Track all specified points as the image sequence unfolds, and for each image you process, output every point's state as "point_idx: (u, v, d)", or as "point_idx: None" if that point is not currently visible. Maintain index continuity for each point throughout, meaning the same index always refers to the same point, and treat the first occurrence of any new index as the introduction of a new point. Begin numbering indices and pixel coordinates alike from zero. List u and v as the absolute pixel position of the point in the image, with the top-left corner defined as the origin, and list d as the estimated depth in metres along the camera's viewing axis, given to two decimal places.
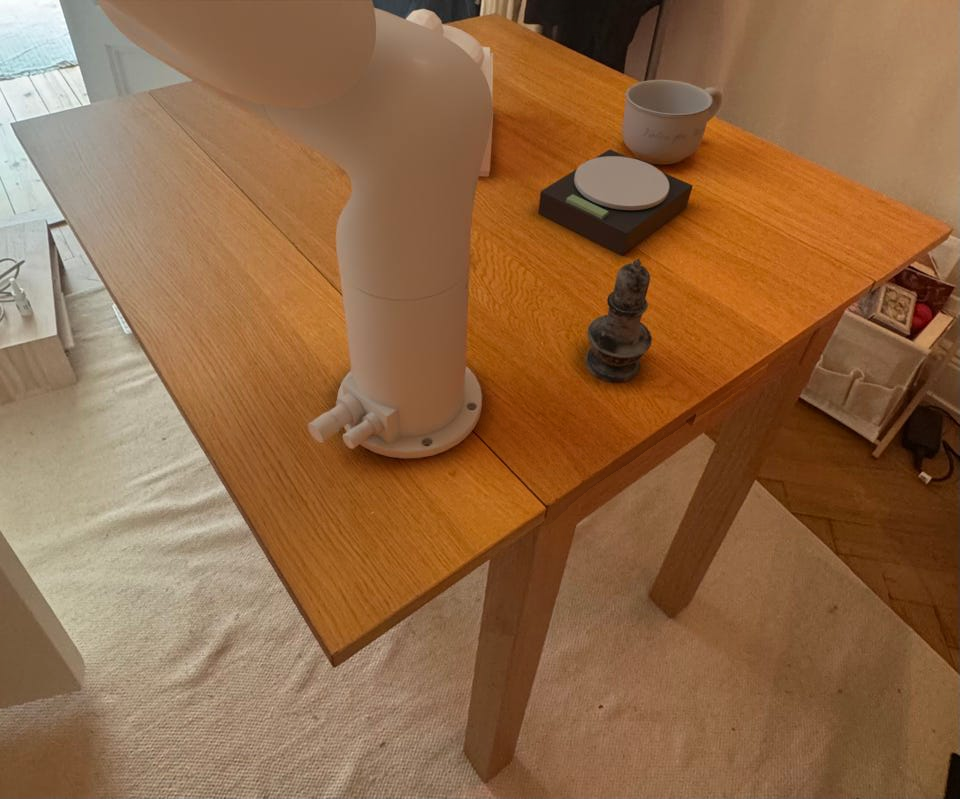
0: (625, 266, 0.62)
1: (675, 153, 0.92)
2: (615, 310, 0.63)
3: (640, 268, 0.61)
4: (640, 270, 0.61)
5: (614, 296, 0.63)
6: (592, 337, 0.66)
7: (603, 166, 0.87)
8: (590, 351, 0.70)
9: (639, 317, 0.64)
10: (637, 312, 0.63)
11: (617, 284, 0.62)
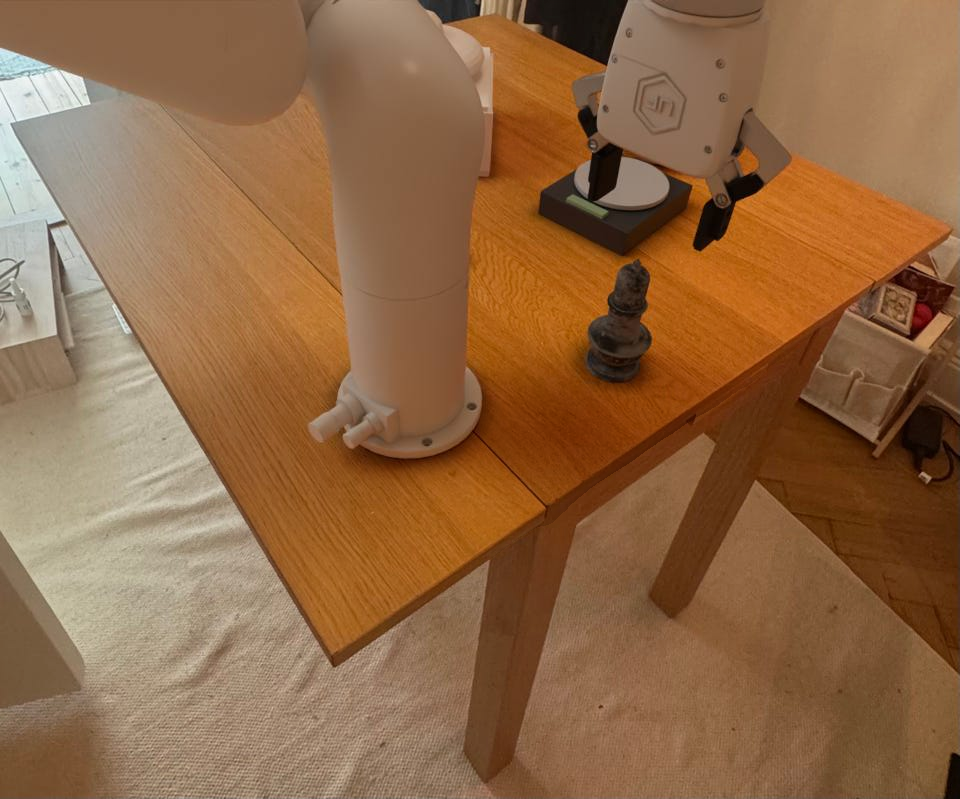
0: (625, 266, 0.62)
1: None
2: (615, 310, 0.63)
3: (640, 268, 0.61)
4: (640, 270, 0.61)
5: (614, 296, 0.63)
6: (592, 337, 0.66)
7: None
8: (590, 351, 0.70)
9: (639, 318, 0.64)
10: (637, 312, 0.63)
11: (617, 284, 0.62)
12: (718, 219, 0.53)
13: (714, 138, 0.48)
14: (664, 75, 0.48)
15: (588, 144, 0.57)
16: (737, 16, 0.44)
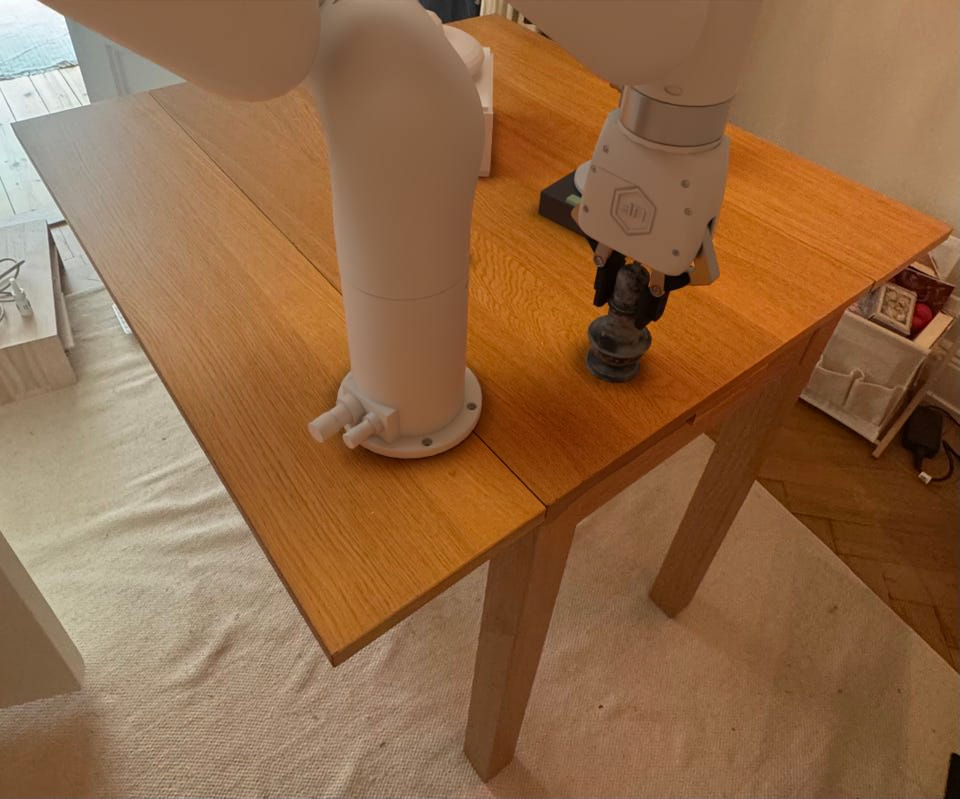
0: (625, 266, 0.62)
1: None
2: (615, 310, 0.63)
3: (640, 268, 0.61)
4: (640, 270, 0.61)
5: (614, 296, 0.63)
6: (592, 337, 0.66)
7: None
8: (590, 351, 0.70)
9: None
10: None
11: (617, 284, 0.62)
12: (654, 304, 0.61)
13: (681, 244, 0.54)
14: (637, 187, 0.54)
15: (595, 262, 0.62)
16: (699, 145, 0.50)
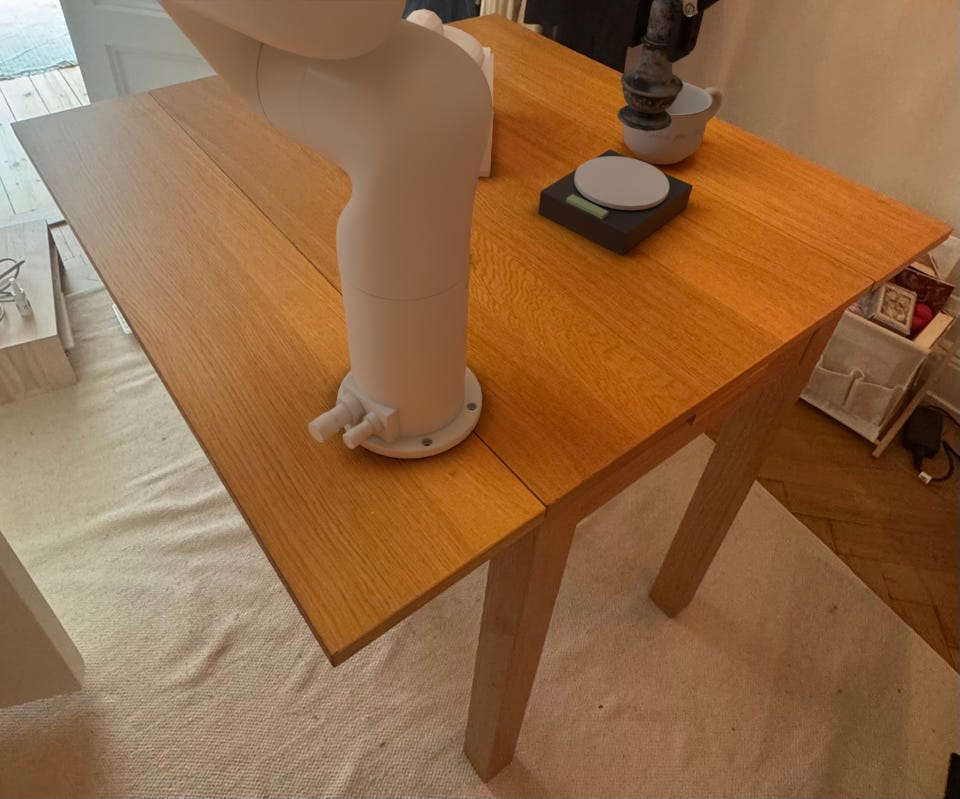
0: None
1: (675, 153, 0.92)
2: (649, 44, 0.65)
3: None
4: None
5: (648, 30, 0.65)
6: (626, 81, 0.69)
7: (603, 166, 0.87)
8: (622, 108, 0.72)
9: None
10: None
11: (651, 15, 0.64)
12: (687, 30, 0.63)
13: None
14: None
15: None
16: None
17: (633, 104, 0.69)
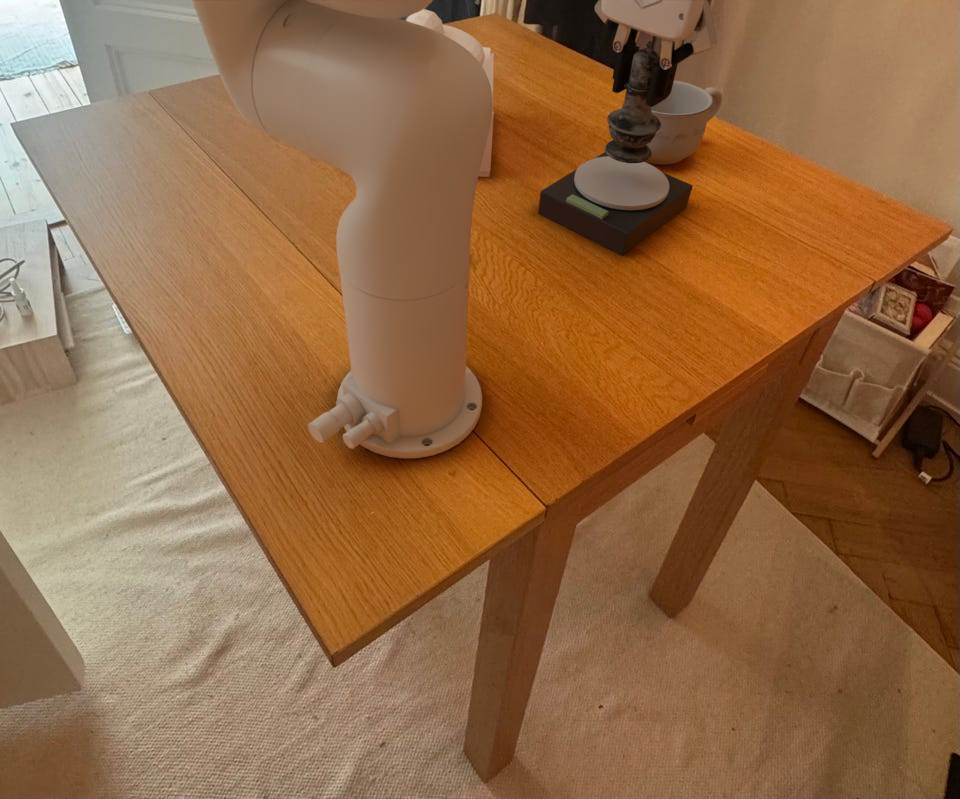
0: (639, 50, 0.75)
1: (675, 153, 0.92)
2: (631, 90, 0.76)
3: (652, 50, 0.74)
4: (652, 51, 0.74)
5: (630, 78, 0.76)
6: (611, 121, 0.79)
7: (603, 166, 0.87)
8: (609, 143, 0.83)
9: None
10: None
11: (632, 66, 0.75)
12: (663, 80, 0.74)
13: (686, 7, 0.67)
14: None
15: (615, 49, 0.75)
16: None
17: (618, 140, 0.80)
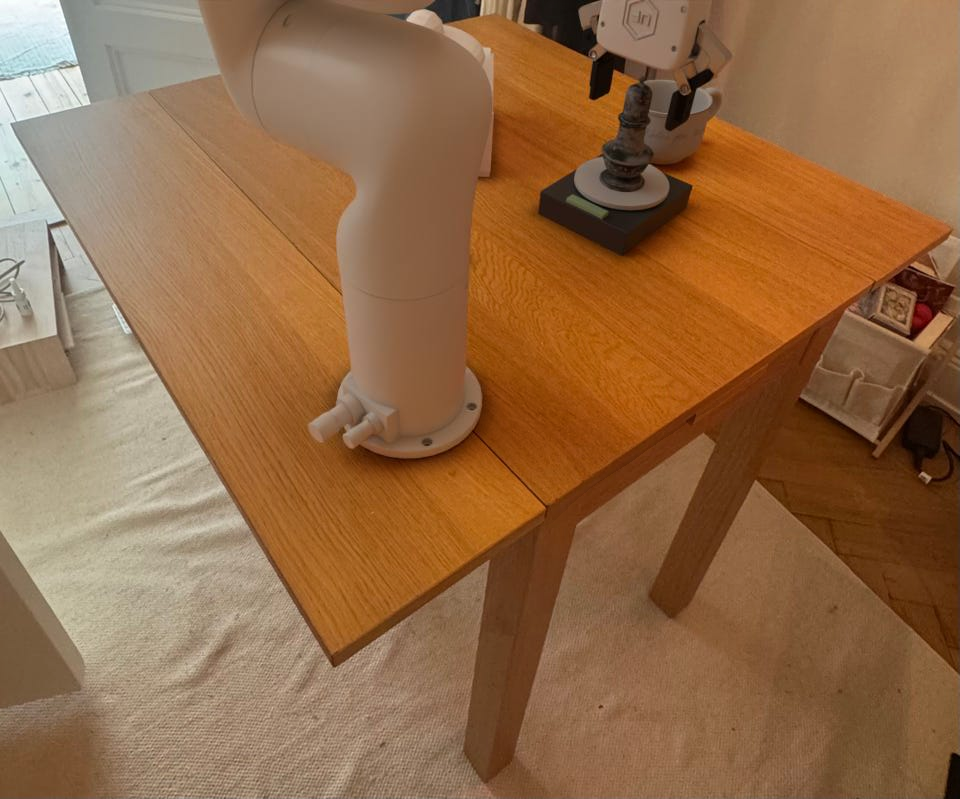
0: None
1: (675, 153, 0.92)
2: (624, 123, 0.79)
3: (645, 85, 0.77)
4: (644, 86, 0.77)
5: (623, 111, 0.79)
6: (606, 151, 0.82)
7: (603, 166, 0.87)
8: (603, 171, 0.86)
9: (643, 131, 0.80)
10: (642, 124, 0.79)
11: (626, 100, 0.78)
12: (682, 105, 0.74)
13: (678, 40, 0.69)
14: None
15: (590, 55, 0.78)
16: None
17: (612, 170, 0.82)
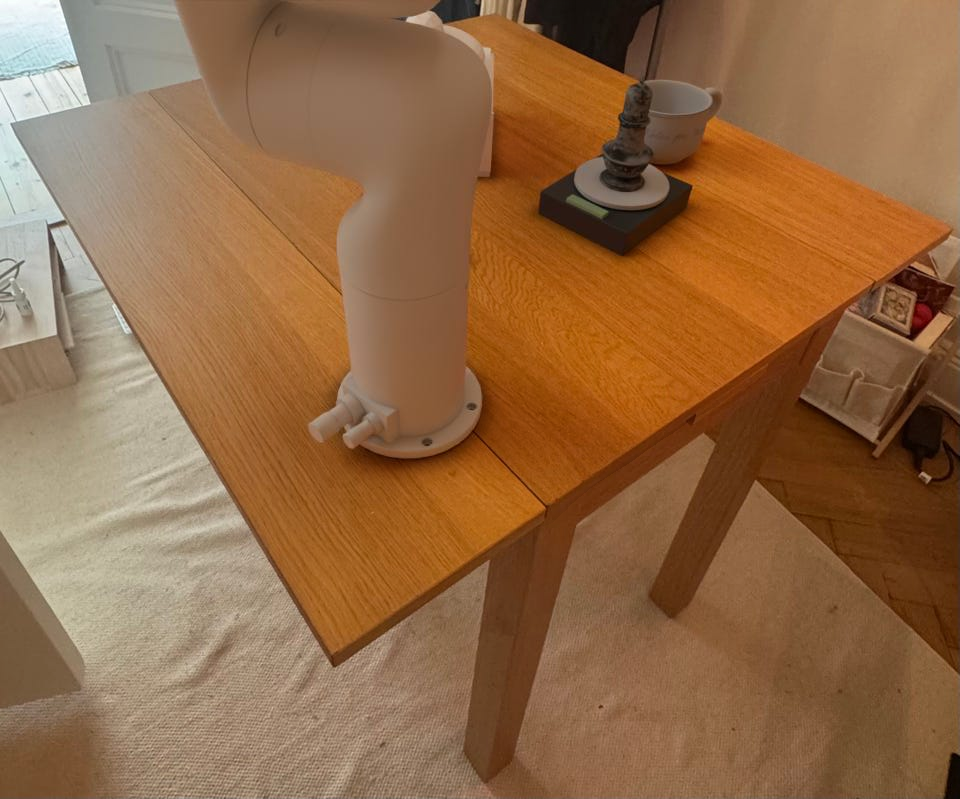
0: None
1: (675, 153, 0.92)
2: (624, 123, 0.79)
3: (645, 85, 0.77)
4: (644, 86, 0.77)
5: (623, 111, 0.79)
6: (606, 151, 0.82)
7: (603, 166, 0.87)
8: (603, 171, 0.86)
9: (643, 131, 0.80)
10: (642, 124, 0.79)
11: (626, 100, 0.78)
12: None
13: None
14: None
15: None
16: None
17: (612, 170, 0.82)
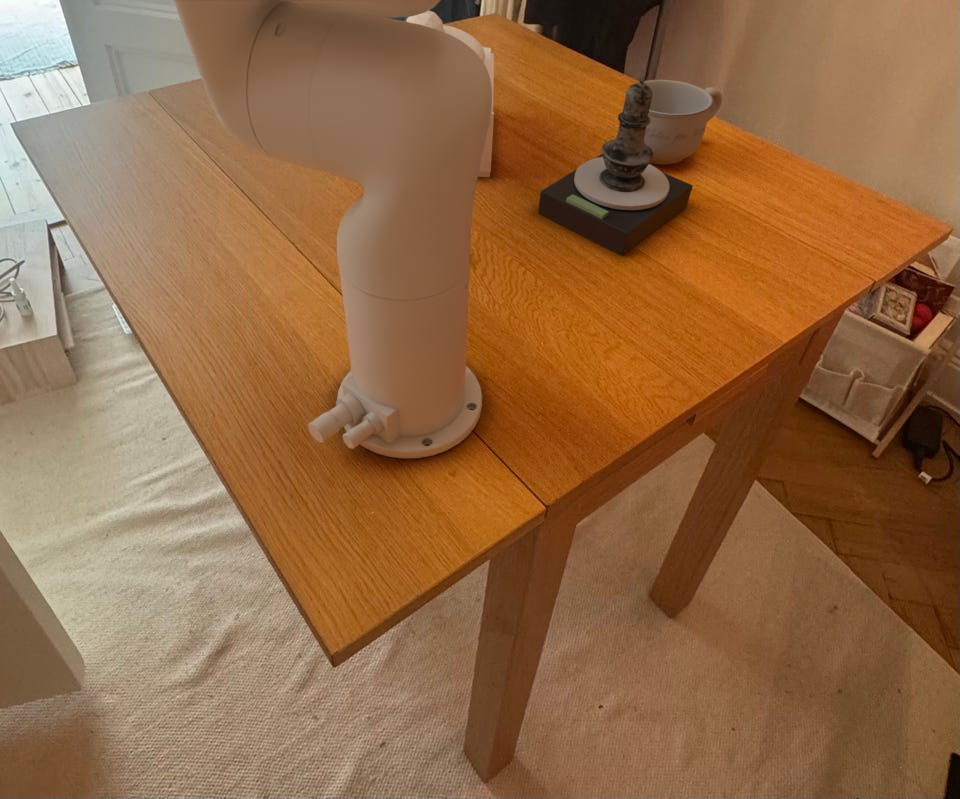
0: None
1: (675, 153, 0.92)
2: (624, 123, 0.79)
3: (645, 85, 0.77)
4: (644, 86, 0.77)
5: (623, 111, 0.79)
6: (606, 151, 0.82)
7: (603, 166, 0.87)
8: (603, 171, 0.86)
9: (643, 131, 0.80)
10: (642, 124, 0.79)
11: (626, 100, 0.78)
12: None
13: None
14: None
15: None
16: None
17: (612, 170, 0.82)
